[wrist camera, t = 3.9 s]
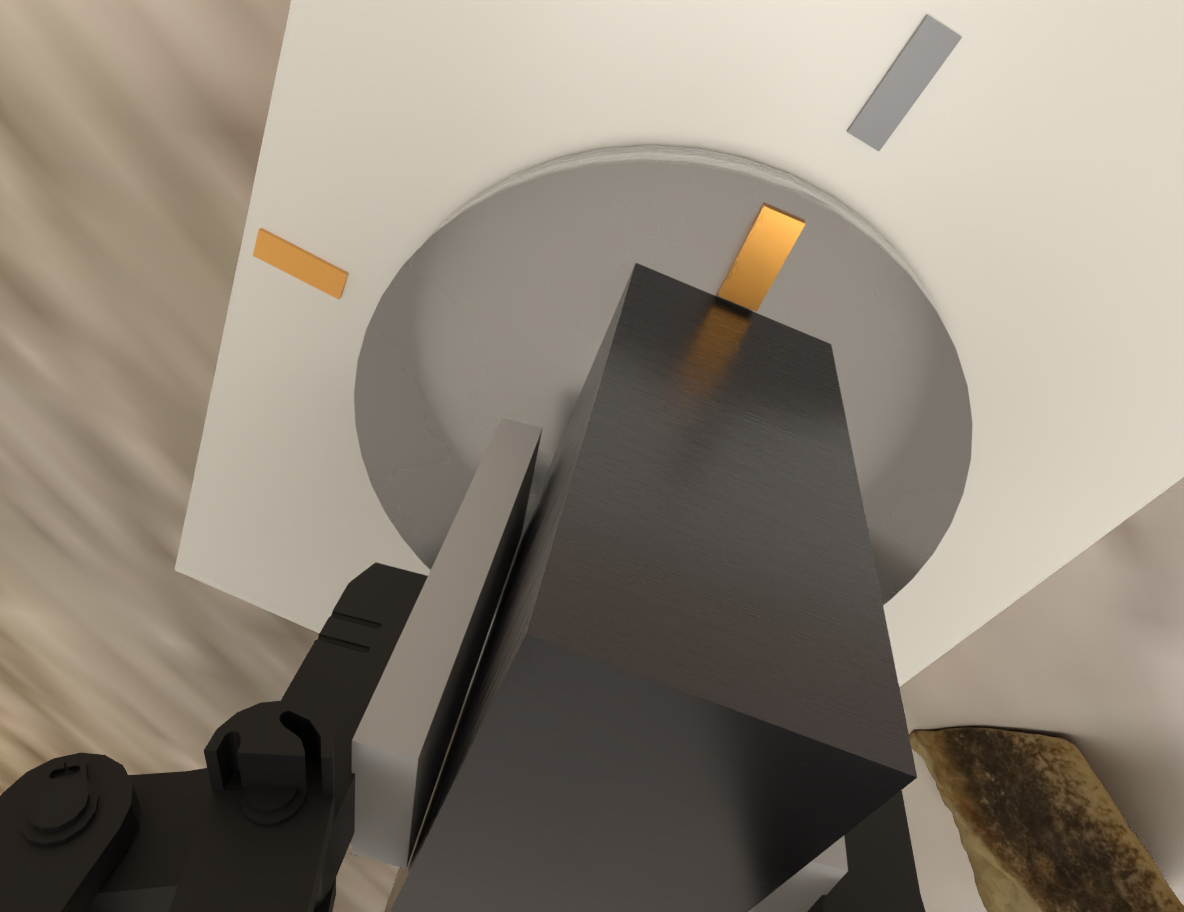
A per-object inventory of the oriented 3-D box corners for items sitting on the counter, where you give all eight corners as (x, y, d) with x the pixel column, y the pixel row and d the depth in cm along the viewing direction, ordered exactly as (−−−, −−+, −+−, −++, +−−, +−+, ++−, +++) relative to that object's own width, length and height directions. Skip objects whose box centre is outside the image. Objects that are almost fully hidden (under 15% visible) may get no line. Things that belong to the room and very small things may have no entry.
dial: (771, 694, 20) (787, 1137, 13) (337, 532, 19) (92, 915, 12) (1112, 313, 13) (1575, 836, 6) (442, 22, 12) (-13, 211, 5)
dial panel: (729, 768, 25) (728, 815, 24) (204, 534, 22) (172, 572, 21) (1484, 165, 12) (1570, 197, 11) (460, -564, 9) (417, -636, 8)
